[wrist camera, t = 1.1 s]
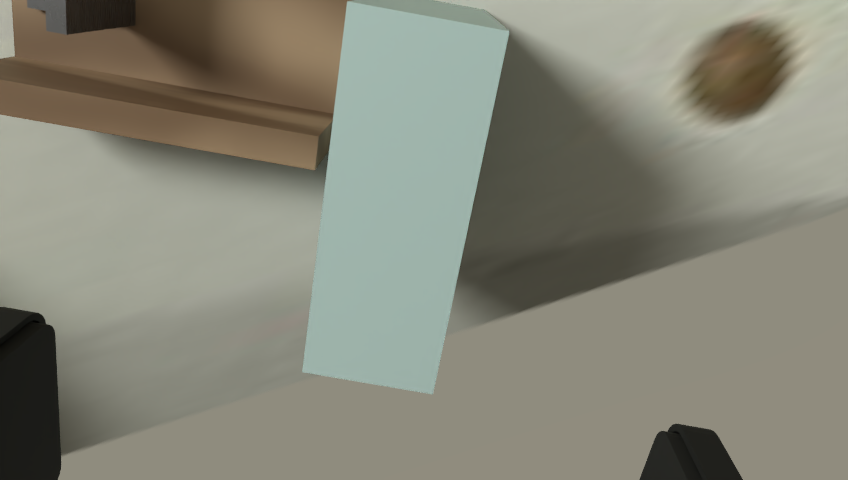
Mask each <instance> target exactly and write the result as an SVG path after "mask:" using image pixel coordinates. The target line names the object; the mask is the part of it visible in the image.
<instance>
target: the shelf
mask: <svg viewBox="0 0 848 480" xmlns="http://www.w3.org/2000/svg"><path fill="white" fill-rule="evenodd" d="M347 1H352V0H136V18H135V26H128V27H120V28H113V29H105V30H98V31H91V32H83V33H76V34H69V35H65V34H60V33H54V32H49V31H46V12H45V11H43V10H38V9H32V8H27V0H12V12H13V29H14V46H15V57H9V58H3V59H0V114H1V115H7V116H12V117H18V118H23V119H29V120H35V121H40V122H46V123H52V124H57V125H63V126H69V127H74V128H80V129H85V130H91V131H97V132H102V133H108V134H114V135H119V136H125V137H130V138H136V139H142V140H147V141H153V142H159V143H164V144H170V145H176V146H181V147H187V148H192V149H198V150H204V151H209V152H215V153H221V154H226V155H232V156H237V157H243V158H249V159H254V160H260V161H266V162H271V163H277V164H282V165H288V166H294V167H299V168H305V169H311V170H315V169H316V168H317V167H318V165H319V164H320V162H321V161H322V160H323V158H324V157H325V156H326V154H327V153H328V152H329V148H330V139H331V131H332V123H333V115H334V106H335V98H336V90H337V82H338V73H339V65H340V57H341V49H342V40H343V32H344V24H345V16H346V7H347Z"/></svg>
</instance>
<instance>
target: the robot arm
mask: <svg viewBox="0 0 848 480" xmlns="http://www.w3.org/2000/svg"><path fill="white" fill-rule="evenodd" d="M60 470H61V448H60V427H59V406H58V385H57V364H56V343H55V331H54V329H53V327H52V326H50V325H47V324H46V322H45V319H44V317H43V316H42V315H41V314H39V313H35V312H29V311H23V310H17V309H12V308H6V307H0V480H58V477H59V474H60ZM640 480H743V479H742V478H741V476H740V474H739V472H738V471H737V469H736V467H735V465H734V464H733V462H732V460H731V458H730V456H729V455H728V453H727V451H726V449H725V448H724V446H723V444H722V443H721V441H720V439H719V437H718V436H717V434H716V433H715V432H714V431H712V430H709V429H704V428H698V427H692V426H686V425H681V424H674V425H672V426H671V427H670V428H669V430H668V432H665V431H661V432H659V433H658V434H657V436H656V438H655V440H654V443H653V445H652V448H651V451H650V453H649V456H648V459H647V461H646V464H645V467H644V469H643V472H642V474H641V477H640Z"/></svg>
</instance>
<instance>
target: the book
mask: <svg viewBox="0 0 848 480" xmlns="http://www.w3.org/2000/svg"><path fill="white" fill-rule="evenodd" d="M509 32H510V31H509V30H508V29H506V28H505V27H504V26H503V25H502V24H501V23H499V22H498V21H497V20H496V19H495V18H494V17H492V16H491V15H490V14H489V13H488V12H487V11H485V10H482V9H477V8H472V7H466V6H461V5H455V4H450V3H445V2H439V1H434V0H352V1H347V7H346V16H345V24H344V32H343V40H342V49H341V57H340V65H339V73H338V82H337V90H336V98H335V106H334V115H333V123H332V131H331V139H330V148H329V156H328V164H327V172H326V181H325V189H324V197H323V205H322V214H321V222H320V230H319V239H318V247H317V255H316V263H315V272H314V280H313V288H312V296H311V305H310V313H309V321H308V329H307V338H306V346H305V354H304V362H303V371H302V372H305V373H311V374H317V375H322V376H328V377H334V378H340V379H346V380H352V381H358V382H364V383H370V384H375V385H381V386H387V387H393V388H399V389H405V390H411V391H416V392H422V393H429V394H433V390H434V386H435V382H436V377H437V372H438V367H439V363H440V358H441V353H442V348H443V344H444V339H445V334H446V330H447V325H448V320H449V316H450V311H451V306H452V301H453V297H454V292H455V287H456V282H457V278H458V273H459V268H460V264H461V259H462V254H463V249H464V245H465V240H466V235H467V230H468V226H469V221H470V216H471V212H472V207H473V202H474V197H475V193H476V188H477V183H478V178H479V174H480V169H481V164H482V160H483V155H484V150H485V145H486V141H487V136H488V131H489V126H490V122H491V117H492V112H493V108H494V103H495V98H496V93H497V89H498V84H499V79H500V74H501V70H502V65H503V60H504V56H505V51H506V46H507V41H508V37H509Z"/></svg>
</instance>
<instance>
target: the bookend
mask: <svg viewBox="0 0 848 480" xmlns="http://www.w3.org/2000/svg"><path fill="white" fill-rule="evenodd" d="M27 8H32V9H38V10H43V11H45V12H46V31H49V32H54V33H60V34H65V35H69V34H76V33H83V32H91V31H98V30H105V29H113V28H120V27H128V26H135V18H136V0H27Z"/></svg>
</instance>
